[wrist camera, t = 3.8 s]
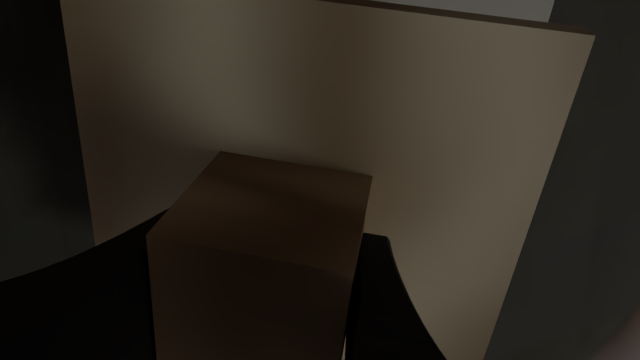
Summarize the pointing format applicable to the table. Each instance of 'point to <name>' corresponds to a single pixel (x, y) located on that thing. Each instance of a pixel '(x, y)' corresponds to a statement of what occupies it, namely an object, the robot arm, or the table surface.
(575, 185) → the table surface
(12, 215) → the table surface
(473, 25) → the lid
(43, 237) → the table surface
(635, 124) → the table surface
